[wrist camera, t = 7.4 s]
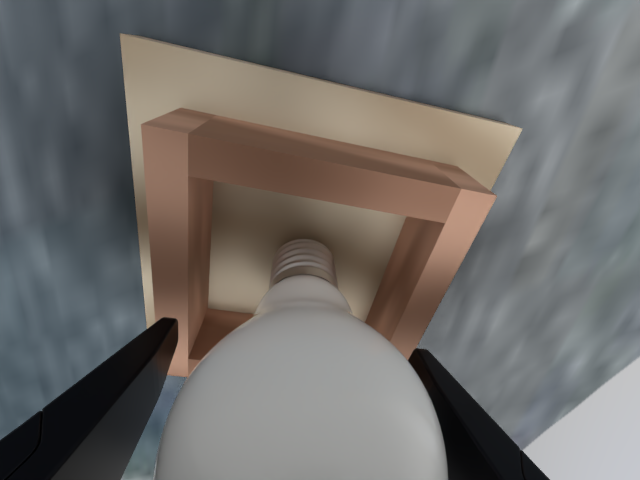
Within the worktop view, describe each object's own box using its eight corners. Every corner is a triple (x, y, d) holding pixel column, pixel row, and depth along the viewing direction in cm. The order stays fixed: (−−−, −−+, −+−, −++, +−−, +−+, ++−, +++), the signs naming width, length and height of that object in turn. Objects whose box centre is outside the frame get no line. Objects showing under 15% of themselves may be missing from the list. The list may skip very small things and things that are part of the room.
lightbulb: (249, 314, 16) (173, 702, 6) (213, 200, 12) (-56, 668, 3) (374, 300, 16) (480, 674, 6) (372, 181, 12) (589, 607, 3)
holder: (392, 353, 19) (411, 421, 16) (157, 325, 18) (118, 395, 14) (504, 122, 13) (584, 150, 9) (137, 35, 11) (51, 25, 7)
